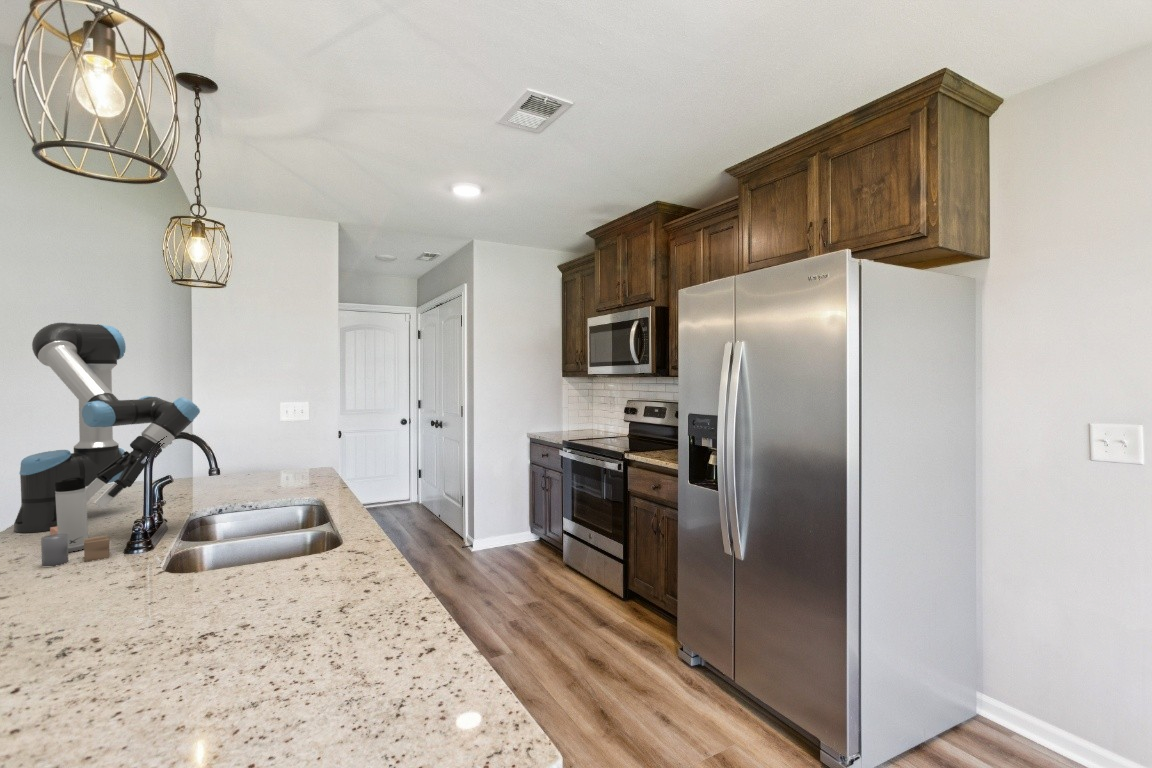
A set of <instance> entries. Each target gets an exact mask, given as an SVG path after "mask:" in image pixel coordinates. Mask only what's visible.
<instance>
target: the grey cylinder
mask: <svg viewBox="0 0 1152 768" xmlns="http://www.w3.org/2000/svg"><path fill="white" fill-rule="evenodd" d="M40 541H41V542H40V545H41V549H40V550H41V567H42V566H53V567H57V566H56V565H59V566H62V565H61V564H63V565H65V564H64V563H66V564H67V562H68V563H69V552H68V534H54V535H50V534H49V535H45V536H42V537H41V538H40Z"/></svg>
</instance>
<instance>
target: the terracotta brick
mask: <svg viewBox="0 0 1152 768" xmlns="http://www.w3.org/2000/svg"><path fill="white" fill-rule="evenodd" d="M49 531H50V533H49V535H54V534H58V529H57V526H56V527H50V530H49Z"/></svg>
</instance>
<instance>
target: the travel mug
mask: <svg viewBox="0 0 1152 768" xmlns="http://www.w3.org/2000/svg"><path fill="white" fill-rule="evenodd" d="M55 488H56V489H55V493H56V494H55V497H56V513H57V529H58V534H68V553H74V552H73V551H75V552H78V550H79V551H82V549H83V550H84V539H87V538H90V536H89V523H88V522H89V521H88V505H87V504H88V502H86V490H85V489H86V487H85V476H82V477H77V478H71V479H66V480H62V481H61V482H55Z"/></svg>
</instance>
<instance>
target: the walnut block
mask: <svg viewBox="0 0 1152 768" xmlns="http://www.w3.org/2000/svg"><path fill="white" fill-rule="evenodd" d="M83 551H84V554H83V555H84V563H87V562H86V561H88V562H93V561H92V560H94V561H99V560H98V559H100V560H105V559H104V558H106V559H110V558H109V557H111V556H110V554H111V552H110V535H109V534H108V535H100V536H95V537H89V538H87V539H84V549H83Z"/></svg>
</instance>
